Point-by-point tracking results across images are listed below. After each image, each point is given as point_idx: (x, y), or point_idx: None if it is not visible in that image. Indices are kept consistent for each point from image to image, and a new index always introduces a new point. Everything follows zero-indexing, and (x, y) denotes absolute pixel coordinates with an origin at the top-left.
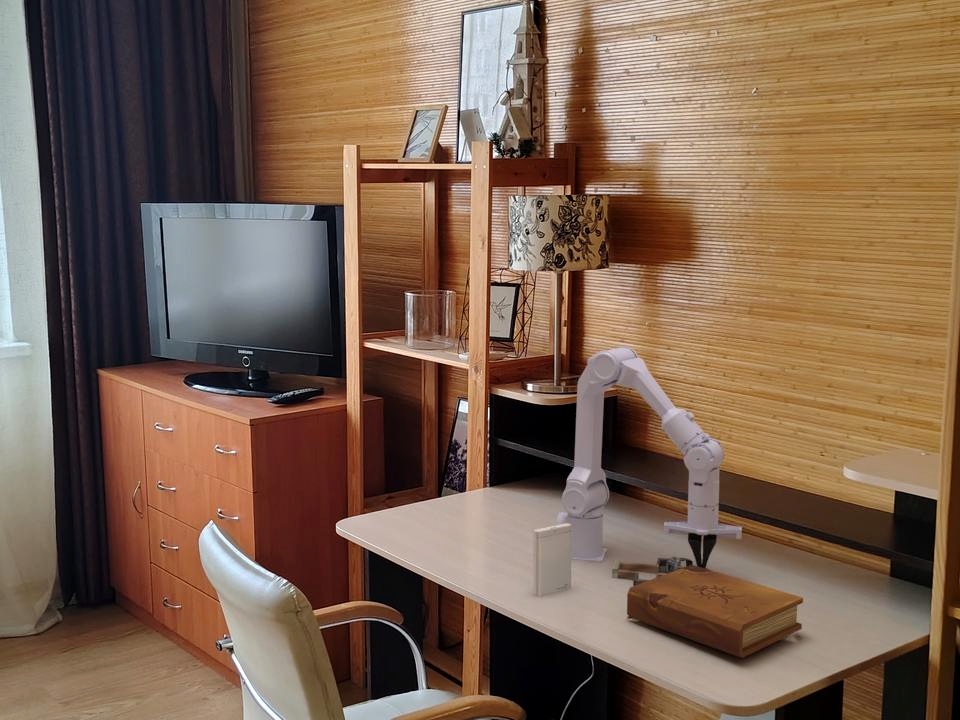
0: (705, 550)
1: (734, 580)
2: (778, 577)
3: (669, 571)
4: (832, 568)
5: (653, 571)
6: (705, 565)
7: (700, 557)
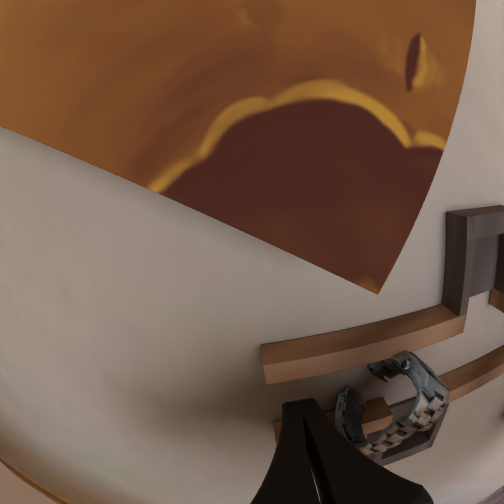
0: (297, 491)
1: (15, 73)
2: (86, 450)
3: (424, 366)
4: (46, 479)
5: (450, 376)
6: (284, 428)
7: (320, 452)
